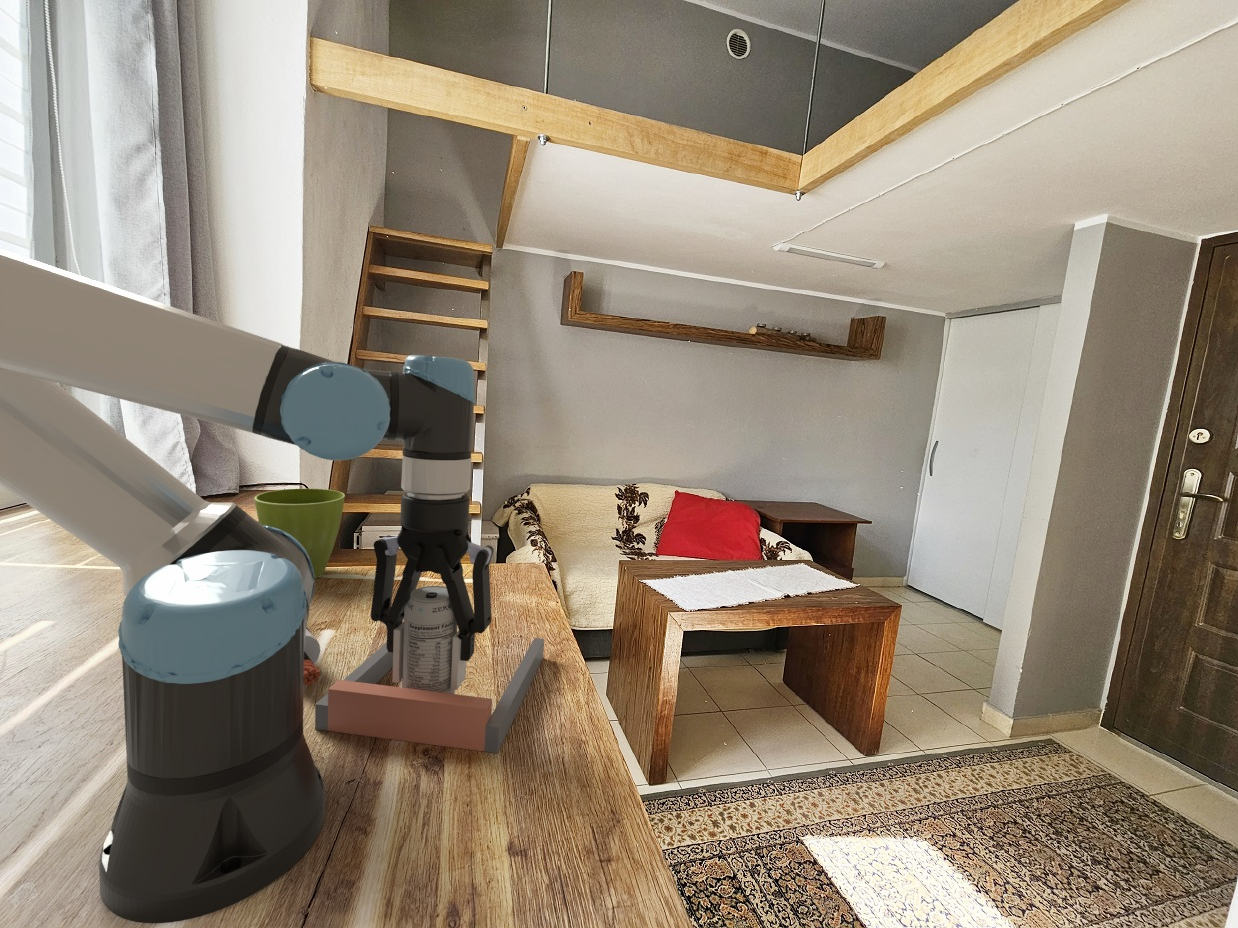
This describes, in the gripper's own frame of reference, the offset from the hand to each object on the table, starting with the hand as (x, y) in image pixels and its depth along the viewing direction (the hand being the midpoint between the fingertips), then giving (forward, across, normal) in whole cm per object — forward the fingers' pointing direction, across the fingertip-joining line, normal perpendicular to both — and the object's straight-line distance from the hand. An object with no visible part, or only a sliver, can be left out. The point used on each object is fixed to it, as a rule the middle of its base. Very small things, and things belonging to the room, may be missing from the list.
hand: (429, 679), depth 65 cm
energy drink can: (+4, 0, 0) cm, 4 cm away
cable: (+4, +29, -10) cm, 31 cm away
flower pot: (+4, +42, -37) cm, 57 cm away
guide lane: (+4, 0, -5) cm, 6 cm away
